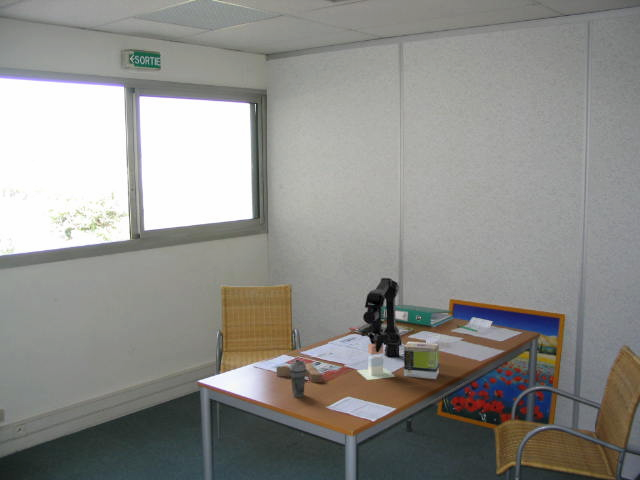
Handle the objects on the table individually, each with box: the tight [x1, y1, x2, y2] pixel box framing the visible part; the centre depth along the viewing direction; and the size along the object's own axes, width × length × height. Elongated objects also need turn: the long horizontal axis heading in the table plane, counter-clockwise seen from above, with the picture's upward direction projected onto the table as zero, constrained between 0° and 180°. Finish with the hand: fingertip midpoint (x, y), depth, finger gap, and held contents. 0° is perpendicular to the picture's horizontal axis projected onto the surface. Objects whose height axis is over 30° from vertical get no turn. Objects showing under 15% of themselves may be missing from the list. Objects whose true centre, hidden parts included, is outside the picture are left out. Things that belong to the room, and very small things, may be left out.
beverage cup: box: [289, 350, 306, 398], centre depth 270 cm, size 7×7×20 cm
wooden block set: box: [276, 362, 323, 384], centre depth 292 cm, size 17×6×18 cm
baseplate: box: [356, 366, 396, 381], centre depth 297 cm, size 14×14×1 cm
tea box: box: [403, 341, 440, 380], centre depth 295 cm, size 15×10×15 cm
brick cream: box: [367, 364, 384, 375], centre depth 297 cm, size 6×4×4 cm, turn 108°
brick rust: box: [367, 343, 384, 356], centre depth 296 cm, size 6×4×4 cm, turn 110°
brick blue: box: [367, 354, 384, 367], centre depth 296 cm, size 6×4×4 cm, turn 107°
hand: (375, 350), depth 296 cm, fingers closed on brick rust, 4 cm apart
